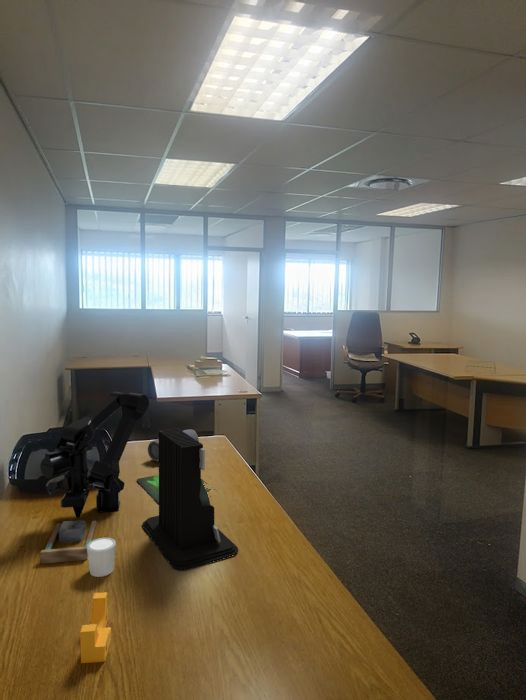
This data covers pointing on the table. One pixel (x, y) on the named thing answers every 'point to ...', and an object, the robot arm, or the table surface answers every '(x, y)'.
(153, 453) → the bluetooth speaker
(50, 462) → the robot arm
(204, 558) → the award
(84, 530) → the block
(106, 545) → the white cylinder
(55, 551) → the brown u-shaped frame
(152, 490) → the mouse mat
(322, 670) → the table surface
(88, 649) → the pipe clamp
